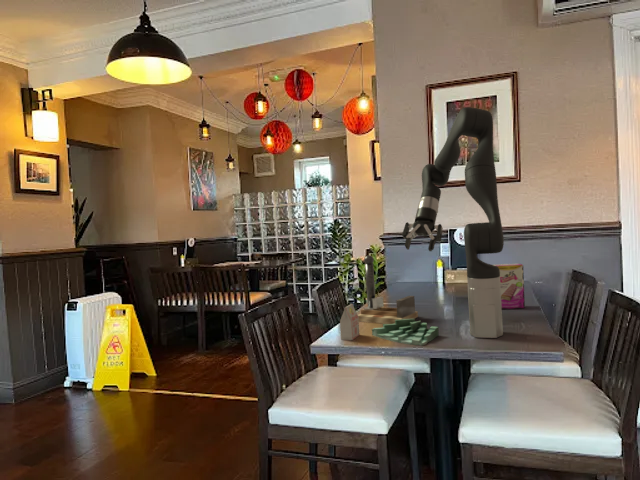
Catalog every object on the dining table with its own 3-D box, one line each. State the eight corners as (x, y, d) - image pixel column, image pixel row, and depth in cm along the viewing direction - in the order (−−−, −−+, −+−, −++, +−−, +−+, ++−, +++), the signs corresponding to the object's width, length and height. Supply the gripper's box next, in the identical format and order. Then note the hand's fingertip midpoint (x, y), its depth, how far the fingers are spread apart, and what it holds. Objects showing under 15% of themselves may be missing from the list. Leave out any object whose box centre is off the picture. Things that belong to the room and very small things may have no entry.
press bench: (355, 321, 170) (354, 299, 170) (375, 313, 181) (373, 293, 181) (400, 325, 159) (398, 301, 159) (417, 316, 170) (416, 295, 170)
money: (444, 334, 145) (443, 318, 145) (423, 347, 132) (422, 330, 131) (385, 329, 156) (385, 314, 156) (361, 340, 143) (360, 325, 143)
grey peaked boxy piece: (341, 339, 145) (339, 307, 144) (348, 334, 151) (346, 303, 150) (352, 340, 143) (350, 307, 143) (359, 334, 149) (357, 303, 149)
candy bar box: (494, 309, 174) (492, 265, 173) (491, 307, 179) (488, 264, 178) (526, 308, 173) (523, 264, 172) (521, 305, 178) (519, 262, 177)
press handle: (364, 313, 173) (360, 256, 172) (370, 310, 177) (367, 254, 176) (377, 314, 169) (373, 255, 169) (384, 311, 173) (380, 254, 173)
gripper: (406, 205, 178) (397, 243, 172) (443, 206, 170) (435, 246, 165) (411, 215, 184) (402, 252, 178) (448, 217, 176) (440, 255, 170)
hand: (418, 249), depth 171 cm, fingers open, 8 cm apart
